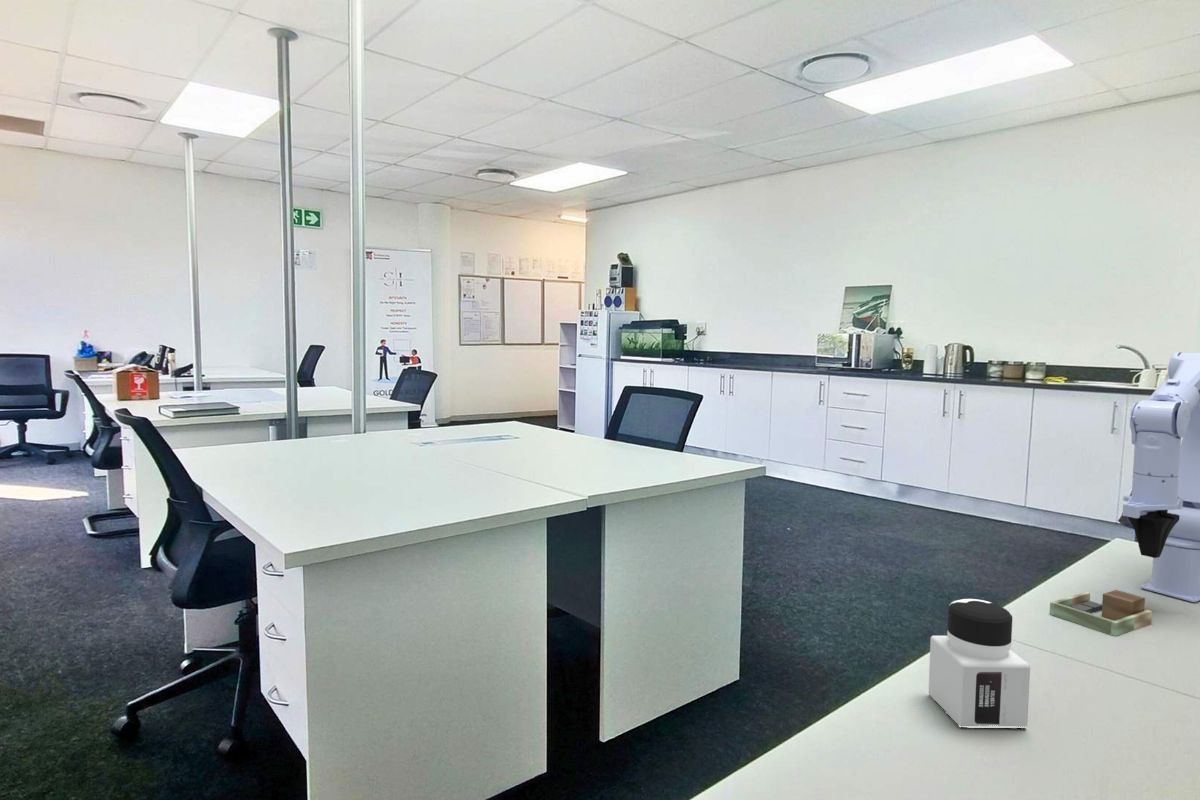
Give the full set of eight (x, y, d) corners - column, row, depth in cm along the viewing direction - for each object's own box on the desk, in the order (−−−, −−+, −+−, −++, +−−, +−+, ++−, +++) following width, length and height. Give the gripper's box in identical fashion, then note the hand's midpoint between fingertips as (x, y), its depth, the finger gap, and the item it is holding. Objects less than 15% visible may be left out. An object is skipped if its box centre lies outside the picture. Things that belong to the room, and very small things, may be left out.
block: (1114, 613, 109) (1116, 589, 109) (1143, 622, 105) (1145, 597, 105) (1101, 617, 107) (1102, 593, 107) (1130, 627, 104) (1131, 602, 103)
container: (1028, 730, 75) (1034, 618, 74) (959, 729, 75) (964, 617, 74) (989, 695, 83) (994, 593, 82) (927, 694, 83) (931, 592, 82)
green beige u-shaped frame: (1085, 603, 113) (1086, 591, 113) (1151, 623, 105) (1152, 611, 104) (1049, 614, 108) (1050, 602, 108) (1115, 636, 100) (1116, 623, 100)
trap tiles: (1089, 605, 112) (1089, 600, 112) (1102, 609, 110) (1103, 604, 110) (1070, 611, 109) (1070, 606, 109) (1083, 615, 108) (1084, 610, 108)
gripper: (1149, 466, 115) (1144, 544, 116) (1103, 473, 108) (1098, 555, 109) (1200, 473, 108) (1195, 555, 109) (1154, 481, 102) (1149, 567, 103)
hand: (1150, 556), depth 109 cm, fingers closed
